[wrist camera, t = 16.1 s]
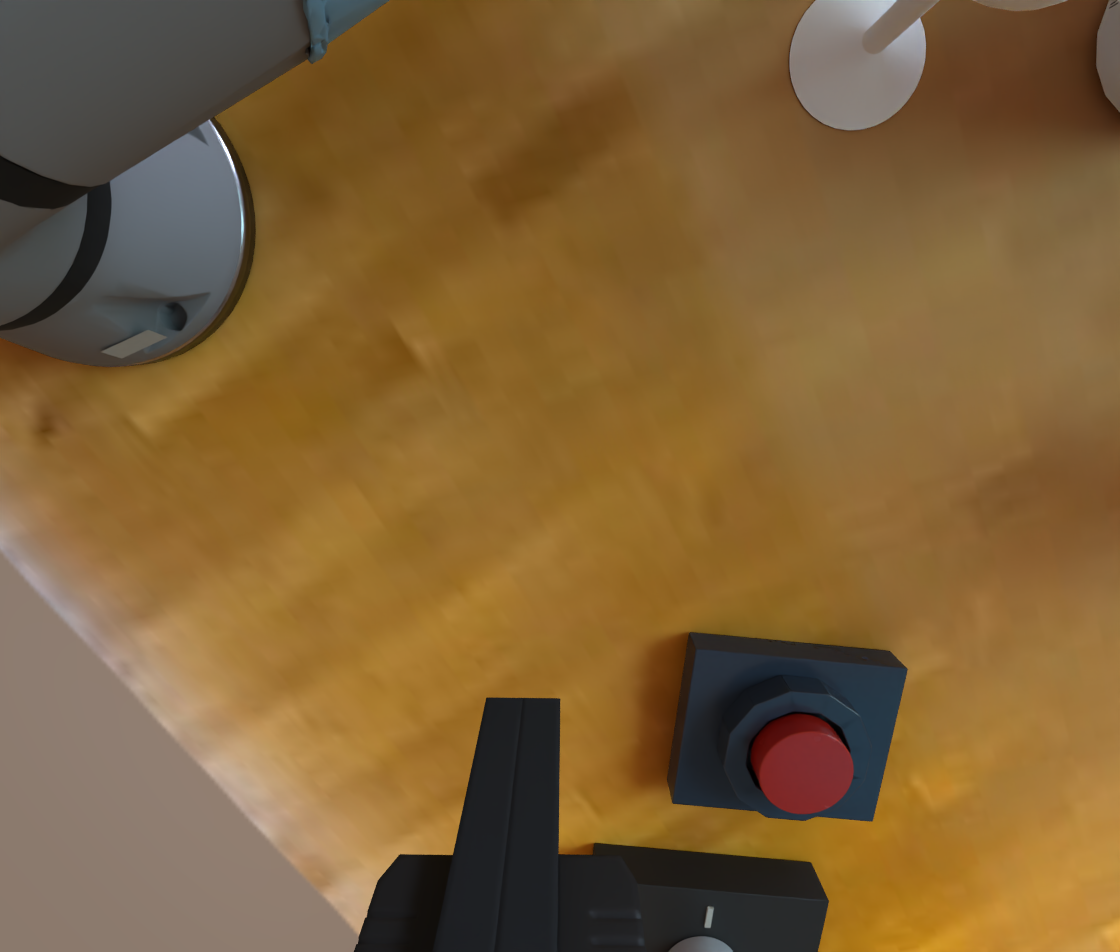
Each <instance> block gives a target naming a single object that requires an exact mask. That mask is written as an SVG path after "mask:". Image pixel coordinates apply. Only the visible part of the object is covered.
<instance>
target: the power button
mask: <svg viewBox="0 0 1120 952" xmlns="http://www.w3.org/2000/svg"><path fill="white" fill-rule="evenodd" d="M751 764H752V768H753V770H754V773H755V775H756V777H757V780H758V782H759V784H760V787H761V789H762V791H763V793H764V795H765V796H766V797H767V799H768V800H769V801H770V802H771V803H772V804H774V805H775V806H776V807H778V808H780V809H782V810H784V811H787V812H790V813H795V814H812V813H817V812H820V811H823V810H825V809H827V808H829V807H831V806H833V805H834V804H835V803H837V802H838V801H839V800H840V799H841V798H842V797H843V796H844V795H845V794H846V792H847V790H848V789H849V787H850V785H851V782H852V779H853V773H854V771H853V761H852V757H851V755H850V753H849V751H848V749H847V748H846V746H845V745H844V743H843V742H842V740H841V739H840V737H839V736H838V734H837V733H836V732H835V730H834V729H833V728H832V727H831V726H830V725H829V724H828V723H827V722H825V721H824V720H822V719H820V718H818V717H815V716H812V715H808V714H790V715H785V716H782V717H779V718H777V719H775V720H773V721H772V722H770V723H769V724H767V725H766V726H765V727H764V728H763V729H762V730H761V731H760V732H759V734H758V735H757V737H756V738H755V740H754V743H753V746H752V749H751Z"/></svg>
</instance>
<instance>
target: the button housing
mask: <svg viewBox="0 0 1120 952" xmlns="http://www.w3.org/2000/svg"><path fill="white" fill-rule="evenodd" d="M906 675H907V668H906V667H905V666H904V665H903V664H902V663H901V662H900V661H899V660H898V659H897V658H896V657H895V656H894V655H893V654H892V653H891V652H890V651H885V650H874V649H864V648H853V647H843V646H832V645H821V644H811V643H800V642H789V641H779V640H768V639H757V638H747V637H736V636H725V635H715V634H704V633H693V632H689V636H688V643H687V649H686V656H685V663H684V669H683V676H682V683H681V689H680V696H679V703H678V709H677V716H676V722H675V729H674V736H673V742H672V749H671V756H670V762H669V769H668V776H667V782H668V786H669V791H670V795H671V799H672V803H673V804H683V805H694V806H705V807H716V808H727V809H738V810H749V811H758V812H759V813H761V814H762V815H764V816H765V817H768V818H778V819H789V820H800V821H806V820H808V819H811V818H814V817H827V818H838V819H849V820H860V821H871V822H872V821H873V818H874V814H875V809H876V805H877V801H878V796H879V792H880V788H881V783H882V779H883V774H884V770H885V766H886V761H887V757H888V753H889V748H890V744H891V740H892V735H893V731H894V727H895V722H896V718H897V714H898V709H899V705H900V701H901V696H902V692H903V688H904V683H905V679H906ZM790 714H808V715H812V716H815V717H818V718H820V719H822V720H824V721H825V722H827V723H828V724H829V725H830V726H831V727H832V728H833V729H834V730H835V732H836V733H837V734H838V736H839V737H840V739H841V740H842V742H843V743H844V745H845V746H846V748H847V749H848V751H849V753H850V755H851V757H852V761H853V771H854V773H853V779H852V782H851V785H850V787H849V789H848V790H847V792H846V794H845V795H844V796H843V797H842V798H841V799H840V800H839V801H838V802H837V803H835V804H834V805H833V806H831V807H829V808H827V809H825V810H823V811H820V812H817V813H812V814H795V813H790V812H787V811H784V810H782V809H780V808H778V807H776V806H775V805H774V804H772V803H771V802H770V801H769V800H768V799H767V797H766V796H765V795H764V793H763V791H762V789H761V787H760V784H759V782H758V780H757V777H756V775H755V773H754V770H753V768H752V764H751V749H752V746H753V743H754V740H755V738H756V737H757V735H758V734H759V732H760V731H761V730H762V729H763V728H764V727H765V726H766V725H767V724H769V723H770V722H772V721H773V720H775V719H777V718H779V717H782V716H785V715H790Z"/></svg>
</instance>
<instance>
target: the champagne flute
mask: <svg viewBox="0 0 1120 952" xmlns="http://www.w3.org/2000/svg"><path fill="white" fill-rule="evenodd" d="M939 1H940V0H815V1H814V3H813V4H812V5H811V6H810V7H809V8H808V9H807V11H806V12H805V14H804V15H803V17H802V19H801V20H800V22H799V24H798V26H797V28H796V31H795V34H794V36H793V39H792V44H791V49H790V63H789V69H790V75H791V81H792V84H793V87H794V90H795V93H796V95H797V97H798V99H799V100H800V102H801V103H802V105H803V107H804V108H805V109H806V110H807V111H808V112H809V113H810V114H811V115H812V116H813V117H814V118H816V119H817V120H819V121H820V122H822V123H823V124H825V125H828V126H830V127H833V128H836V129H842V130H862V129H866V128H869V127H873V126H876V125H878V124H880V123H882V122H884V121H886V120H887V119H889V118H890V117H891V116H893V115H894V114H895V113H897V112H898V111H899V110H900V109H901V108H902V107H903V105H904V104H905V103H906V102H907V101H908V100H909V98H910V97H911V95H912V94H913V92H914V90H915V89H916V87H917V85H918V82H919V80H920V78H921V75H922V72H923V67H924V63H925V56H926V40H925V32H924V28H923V25H922V22H921V19H920V17H921V16H923V15H924V14H925V13H926V12H927V11H928V10H929V9H931V8H932V7H933V6H934V5H935V4H936V3H937V2H939ZM972 1H975V2H977V3H980V4H982V5H984V6H987V7H992V8H998V9H1004V10H1010V11H1029V10H1038V9H1041V8H1045V7H1049V6H1052V5H1056V4H1059V3H1062V2H1065V1H1067V0H972Z"/></svg>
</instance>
